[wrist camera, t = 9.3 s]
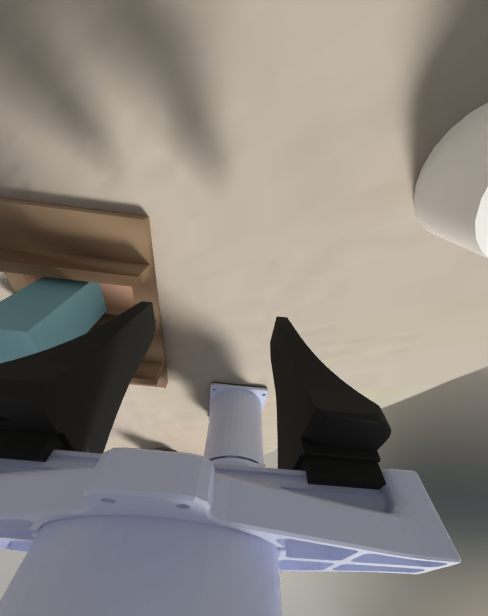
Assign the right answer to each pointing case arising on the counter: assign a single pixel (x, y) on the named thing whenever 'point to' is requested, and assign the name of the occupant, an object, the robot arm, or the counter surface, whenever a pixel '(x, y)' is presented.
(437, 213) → the cylinder with rectangular tab
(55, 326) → the plug block
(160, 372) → the slot rack
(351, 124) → the counter surface
